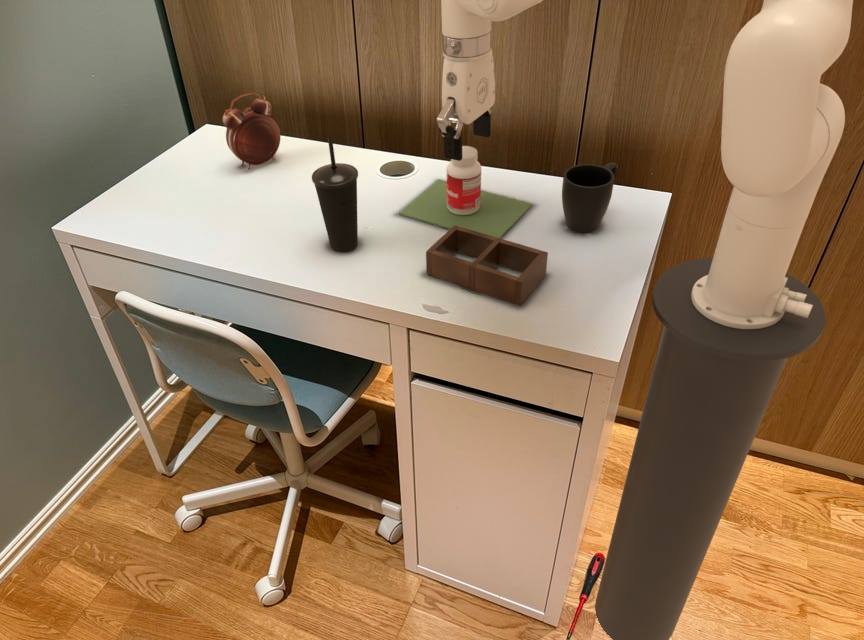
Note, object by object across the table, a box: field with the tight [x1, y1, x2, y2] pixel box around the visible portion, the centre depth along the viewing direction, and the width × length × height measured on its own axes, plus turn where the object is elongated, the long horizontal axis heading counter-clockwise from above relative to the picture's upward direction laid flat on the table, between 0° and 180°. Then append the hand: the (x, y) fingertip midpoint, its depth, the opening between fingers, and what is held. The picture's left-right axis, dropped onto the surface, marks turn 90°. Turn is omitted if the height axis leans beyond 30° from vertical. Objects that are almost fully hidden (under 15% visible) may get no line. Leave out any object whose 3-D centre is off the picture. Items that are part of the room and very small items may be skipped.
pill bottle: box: [446, 145, 482, 215], centre depth 127 cm, size 6×6×11 cm
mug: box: [561, 162, 619, 234], centre depth 122 cm, size 8×12×10 cm
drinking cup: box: [311, 136, 359, 253], centre depth 119 cm, size 8×8×20 cm
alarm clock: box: [222, 91, 281, 170], centre depth 146 cm, size 11×5×15 cm, turn 124°
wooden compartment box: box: [425, 225, 549, 306], centre depth 114 cm, size 17×9×4 cm, turn 55°
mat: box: [398, 179, 533, 239], centre depth 131 cm, size 20×14×1 cm
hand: (468, 146), depth 122 cm, fingers open, 9 cm apart
